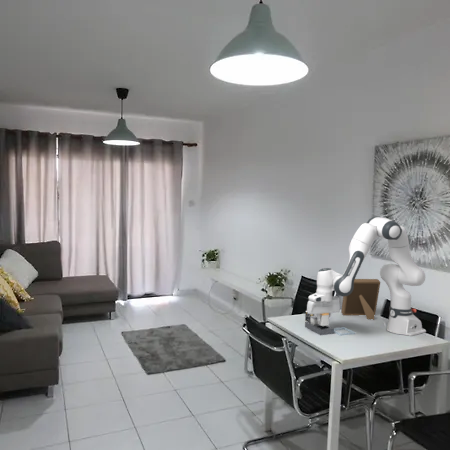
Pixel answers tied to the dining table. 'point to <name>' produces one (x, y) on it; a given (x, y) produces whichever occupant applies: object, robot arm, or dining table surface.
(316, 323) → the grey rectangular block
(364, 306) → the photo frame
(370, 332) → the dining table surface
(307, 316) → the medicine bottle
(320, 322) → the plug
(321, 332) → the square-holed metal block
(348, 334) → the tray
